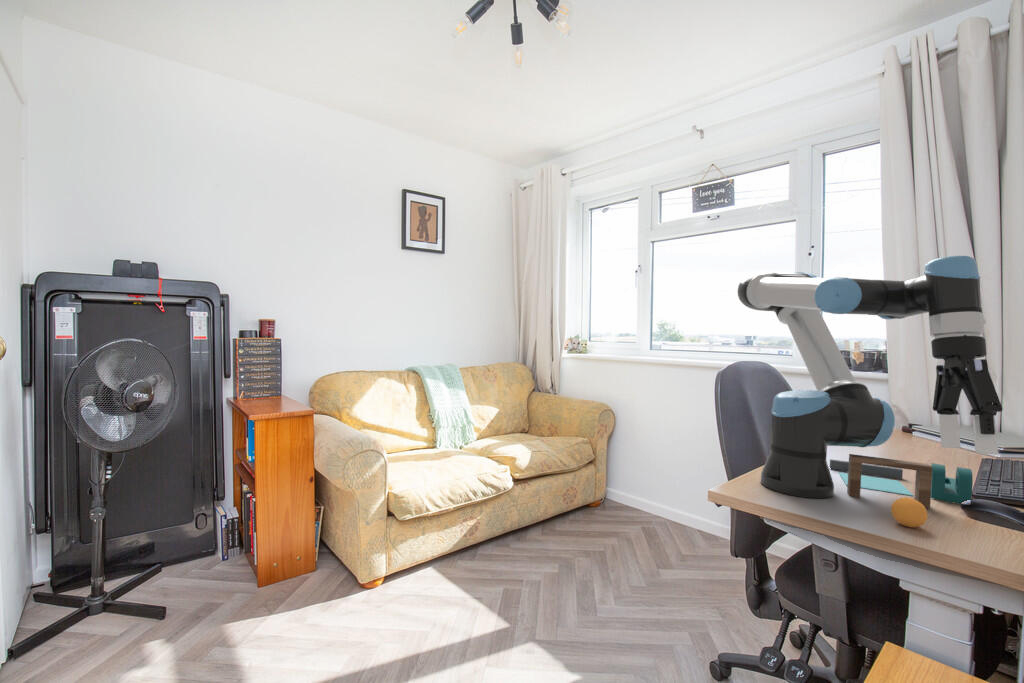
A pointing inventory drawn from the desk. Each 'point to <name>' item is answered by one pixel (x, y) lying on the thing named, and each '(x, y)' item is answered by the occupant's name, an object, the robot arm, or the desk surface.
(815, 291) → the robot arm
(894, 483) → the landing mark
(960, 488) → the bracket
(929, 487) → the bridge
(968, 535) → the desk surface
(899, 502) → the ball
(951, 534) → the desk surface
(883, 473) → the wall
